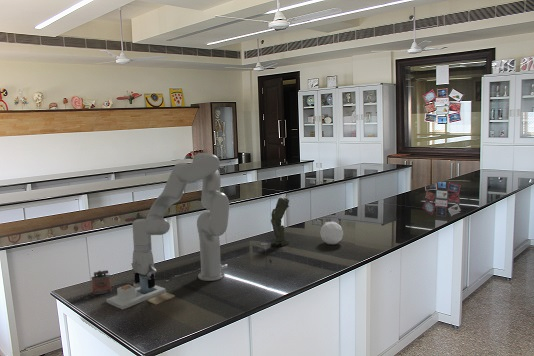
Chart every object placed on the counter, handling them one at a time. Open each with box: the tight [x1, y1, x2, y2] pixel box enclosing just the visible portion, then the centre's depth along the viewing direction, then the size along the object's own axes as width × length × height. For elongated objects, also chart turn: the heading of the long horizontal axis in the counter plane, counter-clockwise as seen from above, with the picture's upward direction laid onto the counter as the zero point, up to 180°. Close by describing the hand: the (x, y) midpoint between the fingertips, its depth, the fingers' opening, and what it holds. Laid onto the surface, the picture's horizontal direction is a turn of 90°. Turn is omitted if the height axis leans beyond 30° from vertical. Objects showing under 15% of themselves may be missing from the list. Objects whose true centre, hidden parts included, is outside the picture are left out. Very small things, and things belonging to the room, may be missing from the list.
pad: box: [146, 291, 176, 306], centre depth 193 cm, size 10×6×1 cm, turn 140°
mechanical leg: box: [270, 197, 290, 248], centre depth 264 cm, size 13×7×29 cm, turn 130°
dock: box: [106, 284, 167, 310], centre depth 196 cm, size 22×12×6 cm, turn 140°
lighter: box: [90, 269, 113, 295], centre depth 202 cm, size 8×3×10 cm, turn 106°
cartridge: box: [139, 274, 152, 295], centre depth 200 cm, size 5×5×9 cm
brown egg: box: [121, 284, 129, 290], centre depth 192 cm, size 3×3×4 cm
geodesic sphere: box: [319, 220, 344, 245], centre depth 264 cm, size 14×14×14 cm
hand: (144, 284), depth 199 cm, fingers open, 9 cm apart
